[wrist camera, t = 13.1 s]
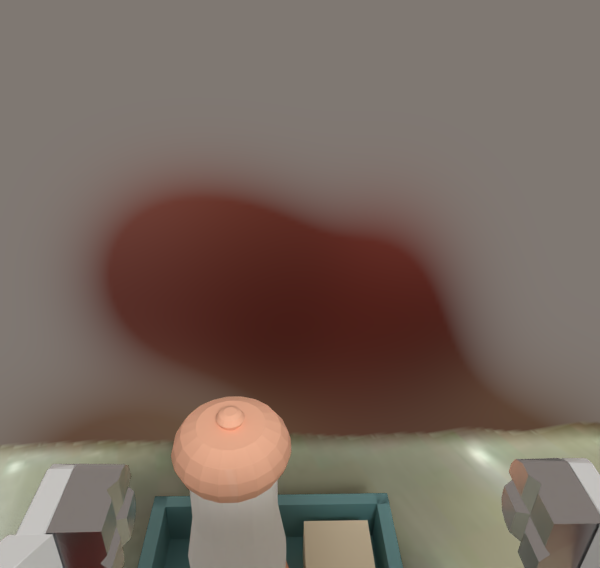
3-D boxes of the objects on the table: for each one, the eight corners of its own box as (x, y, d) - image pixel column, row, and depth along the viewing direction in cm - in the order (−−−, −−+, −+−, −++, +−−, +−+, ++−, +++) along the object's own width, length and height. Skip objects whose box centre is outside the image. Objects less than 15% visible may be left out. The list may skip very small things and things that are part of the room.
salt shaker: (178, 587, 40) (148, 394, 31) (263, 544, 44) (259, 358, 34) (213, 682, 35) (190, 482, 26) (308, 625, 38) (318, 429, 29)
